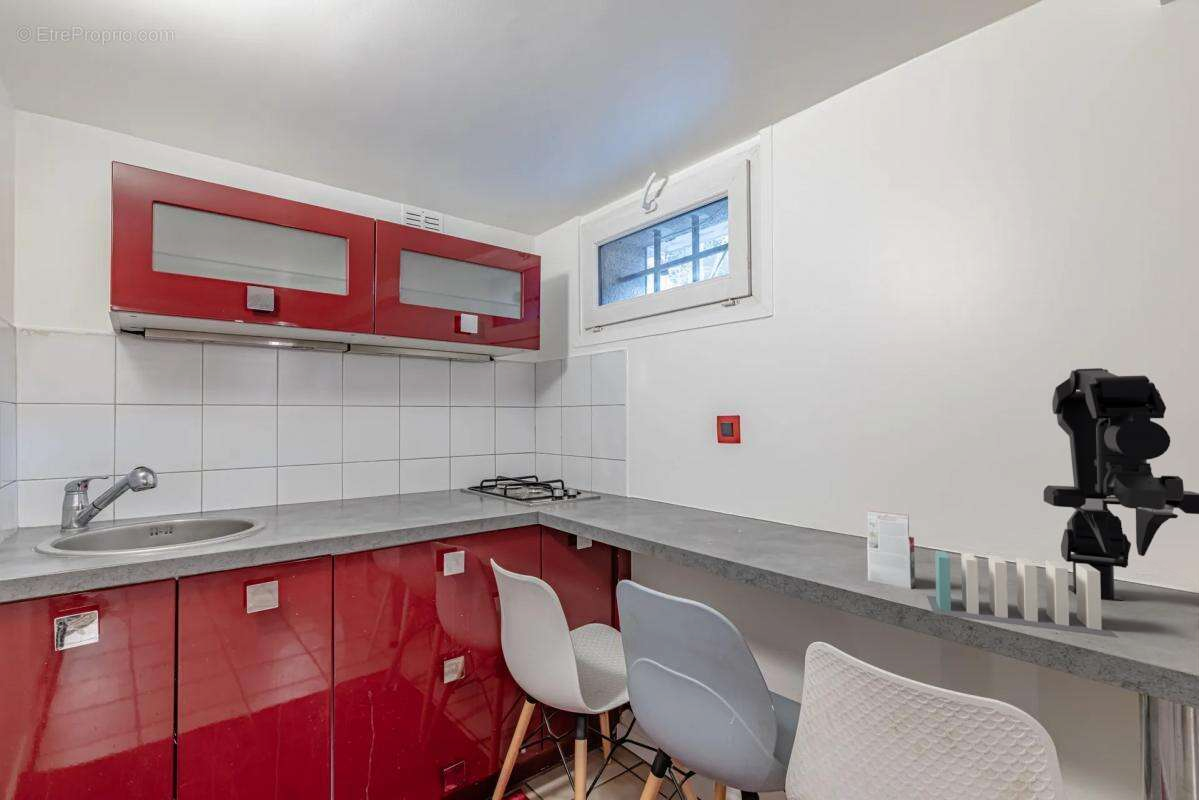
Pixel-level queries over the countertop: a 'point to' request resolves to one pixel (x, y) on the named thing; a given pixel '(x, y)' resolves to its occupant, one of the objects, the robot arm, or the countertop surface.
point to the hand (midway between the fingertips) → (1123, 554)
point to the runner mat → (1018, 617)
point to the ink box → (890, 550)
